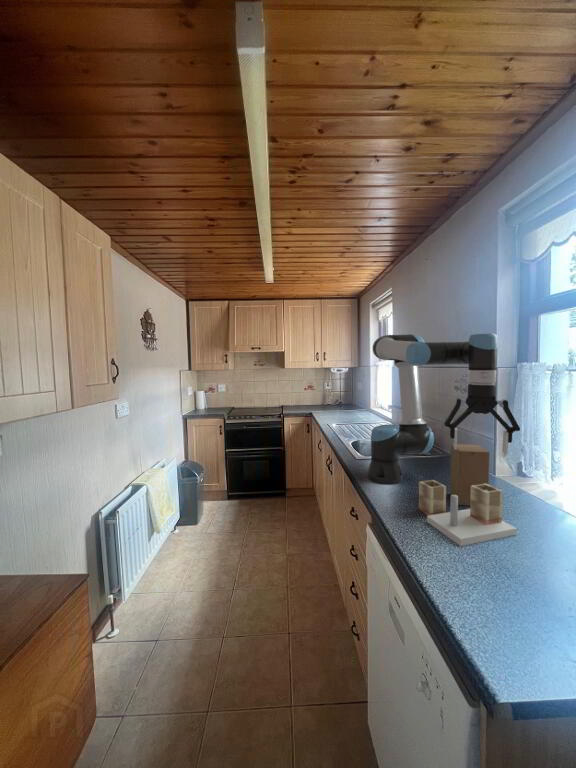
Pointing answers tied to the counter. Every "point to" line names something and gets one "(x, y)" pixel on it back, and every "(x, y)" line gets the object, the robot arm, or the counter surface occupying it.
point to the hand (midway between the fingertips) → (479, 450)
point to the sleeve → (432, 497)
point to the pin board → (468, 526)
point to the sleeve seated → (486, 504)
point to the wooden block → (467, 470)
